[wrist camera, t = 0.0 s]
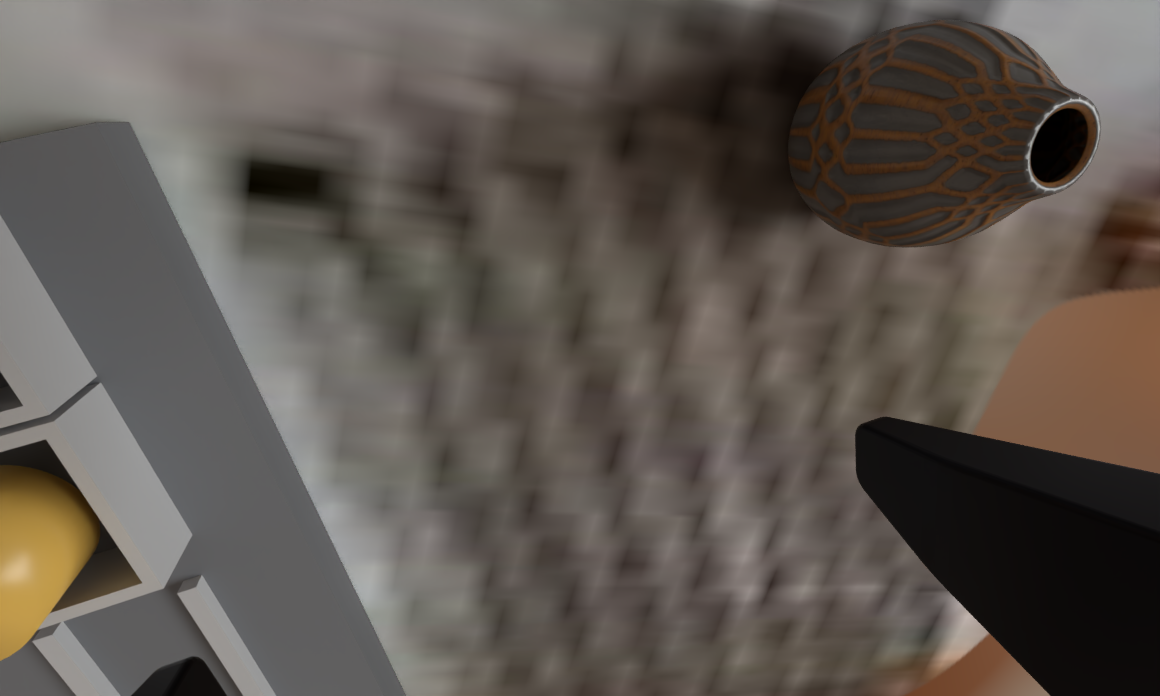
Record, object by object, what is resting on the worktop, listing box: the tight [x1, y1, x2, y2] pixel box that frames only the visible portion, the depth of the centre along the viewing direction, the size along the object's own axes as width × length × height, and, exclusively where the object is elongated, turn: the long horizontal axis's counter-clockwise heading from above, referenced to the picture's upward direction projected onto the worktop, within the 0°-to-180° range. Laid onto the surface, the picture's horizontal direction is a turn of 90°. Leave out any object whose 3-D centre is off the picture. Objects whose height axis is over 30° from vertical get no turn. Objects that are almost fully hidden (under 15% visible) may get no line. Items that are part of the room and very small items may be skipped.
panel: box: [0, 122, 406, 696], centre depth 19 cm, size 27×12×4 cm, turn 12°
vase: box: [788, 20, 1101, 247], centre depth 19 cm, size 7×7×9 cm
